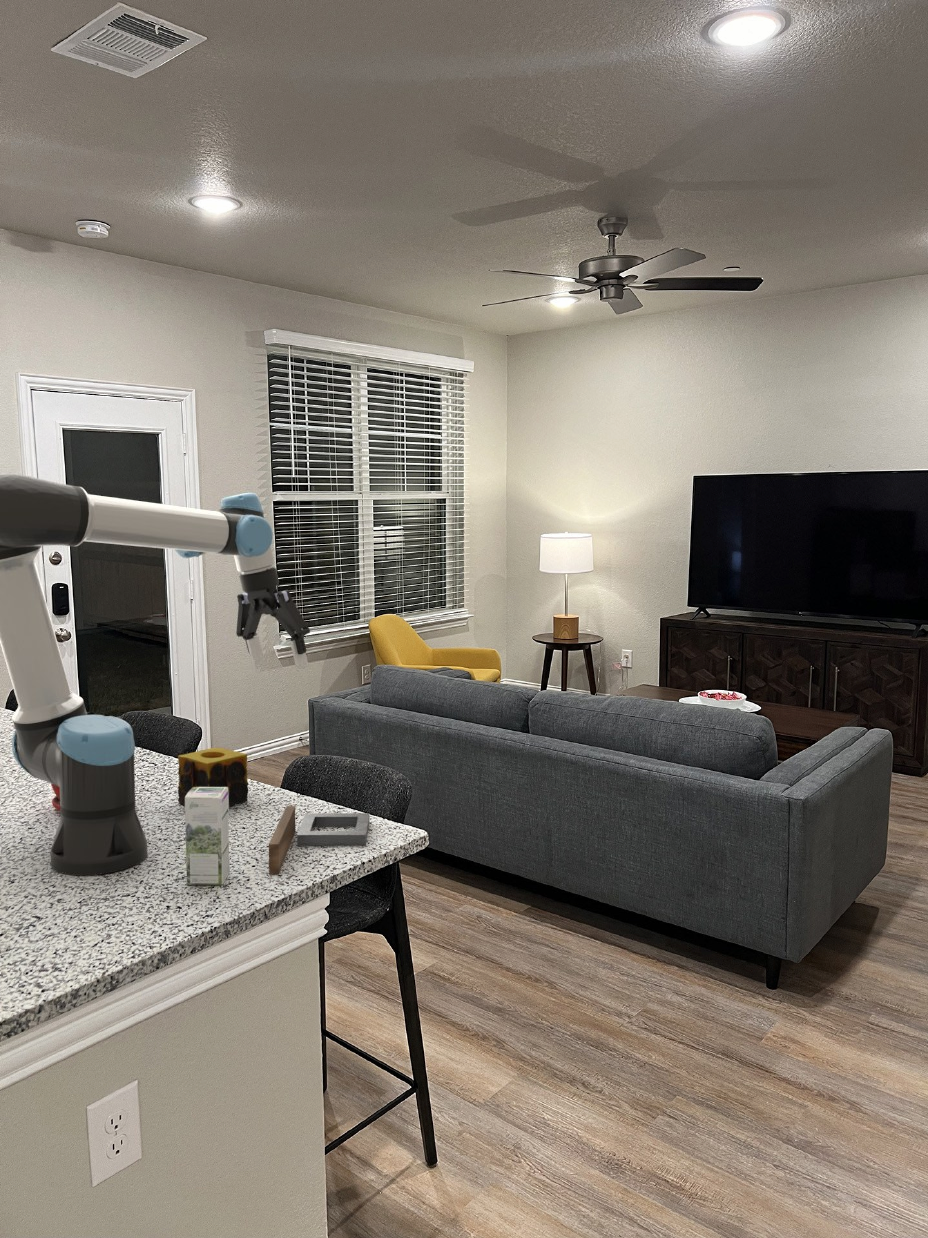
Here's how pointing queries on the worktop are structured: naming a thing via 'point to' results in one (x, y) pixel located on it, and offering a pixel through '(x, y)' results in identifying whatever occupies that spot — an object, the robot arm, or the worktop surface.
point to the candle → (214, 773)
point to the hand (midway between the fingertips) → (280, 668)
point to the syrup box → (207, 835)
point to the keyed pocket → (333, 838)
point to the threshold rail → (281, 840)
